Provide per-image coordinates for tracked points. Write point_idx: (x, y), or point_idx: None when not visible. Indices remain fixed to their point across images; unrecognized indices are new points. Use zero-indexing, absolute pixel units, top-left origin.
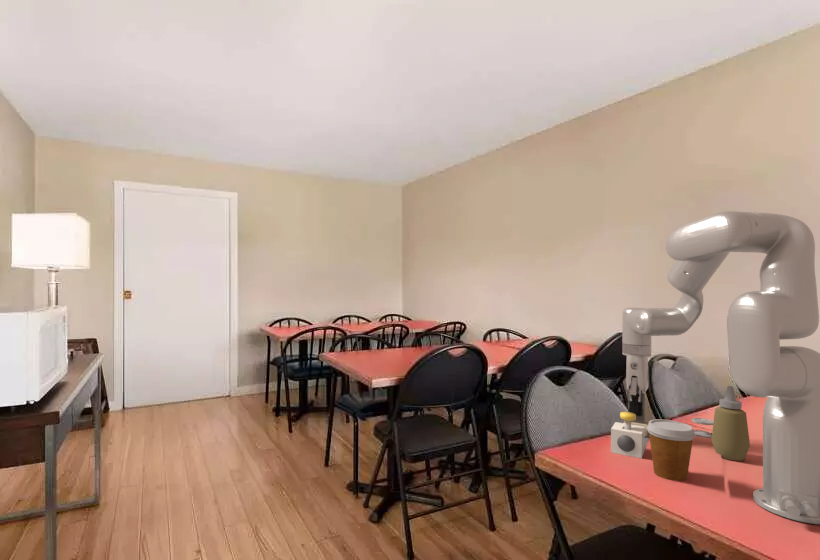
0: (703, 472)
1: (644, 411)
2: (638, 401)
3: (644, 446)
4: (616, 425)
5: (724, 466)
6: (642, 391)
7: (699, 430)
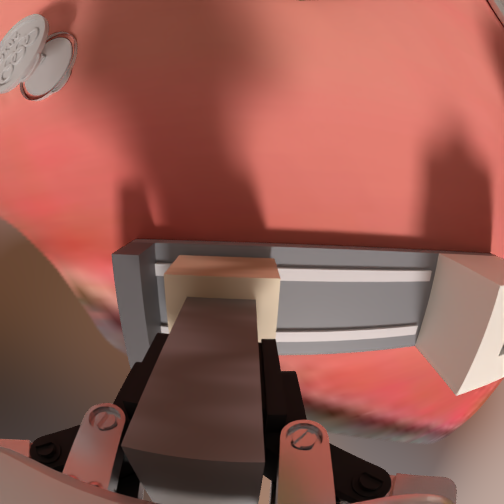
0: (486, 94)
1: (185, 332)
2: (319, 436)
3: (453, 258)
4: (491, 375)
5: (409, 16)
6: (99, 468)
7: (20, 84)
